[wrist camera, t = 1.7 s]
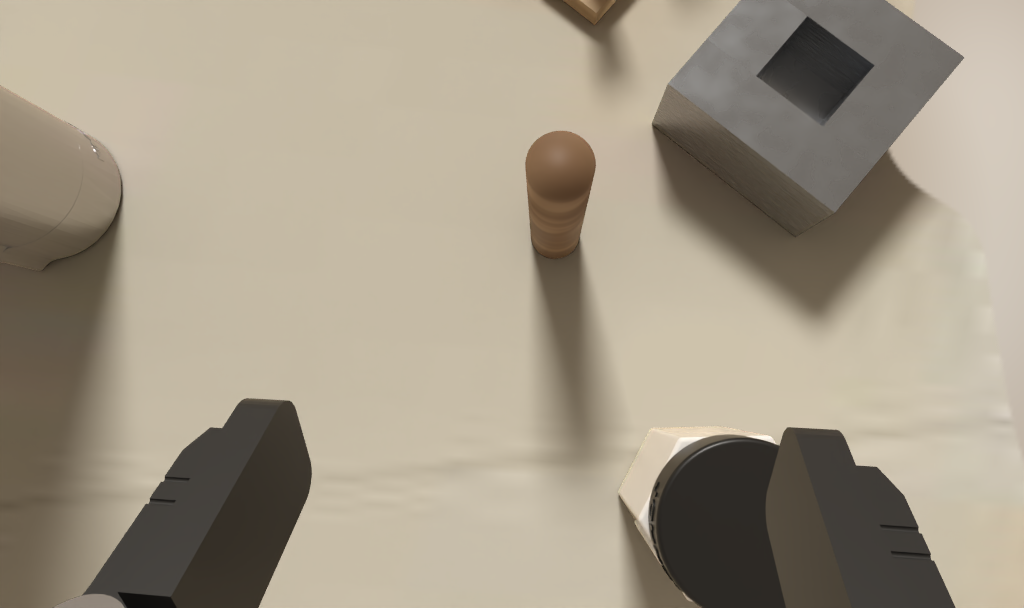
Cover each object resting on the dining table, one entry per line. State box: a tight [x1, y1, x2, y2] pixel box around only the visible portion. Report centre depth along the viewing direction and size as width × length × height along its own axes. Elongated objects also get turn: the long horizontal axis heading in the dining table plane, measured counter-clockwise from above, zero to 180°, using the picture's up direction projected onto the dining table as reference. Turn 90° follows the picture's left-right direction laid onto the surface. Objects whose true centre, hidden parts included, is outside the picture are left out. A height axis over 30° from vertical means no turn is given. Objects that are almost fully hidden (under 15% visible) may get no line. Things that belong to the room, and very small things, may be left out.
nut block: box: [652, 0, 964, 237], centre depth 42 cm, size 12×12×6 cm
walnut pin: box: [526, 131, 596, 259], centre depth 38 cm, size 3×3×14 cm
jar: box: [618, 426, 786, 608], centre depth 36 cm, size 9×8×12 cm
